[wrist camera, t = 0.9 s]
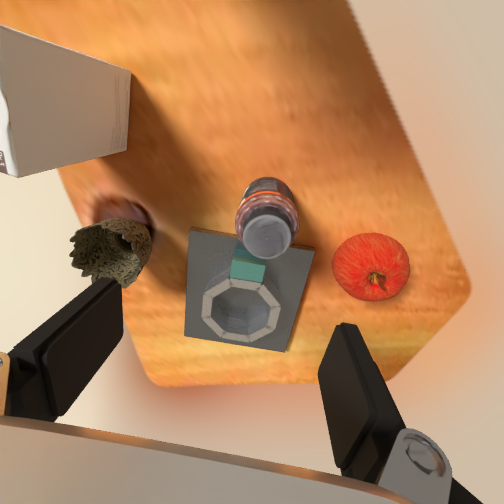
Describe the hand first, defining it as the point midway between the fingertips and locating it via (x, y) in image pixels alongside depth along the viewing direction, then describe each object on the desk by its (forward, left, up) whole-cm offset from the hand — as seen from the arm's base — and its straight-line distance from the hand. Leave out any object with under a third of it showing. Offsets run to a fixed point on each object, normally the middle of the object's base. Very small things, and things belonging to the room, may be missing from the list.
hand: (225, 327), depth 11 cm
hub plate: (+14, +1, -22) cm, 26 cm away
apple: (+5, +15, -22) cm, 27 cm away
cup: (+7, -14, -22) cm, 27 cm away
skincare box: (-7, -17, -22) cm, 29 cm away
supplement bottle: (0, +2, -22) cm, 22 cm away
